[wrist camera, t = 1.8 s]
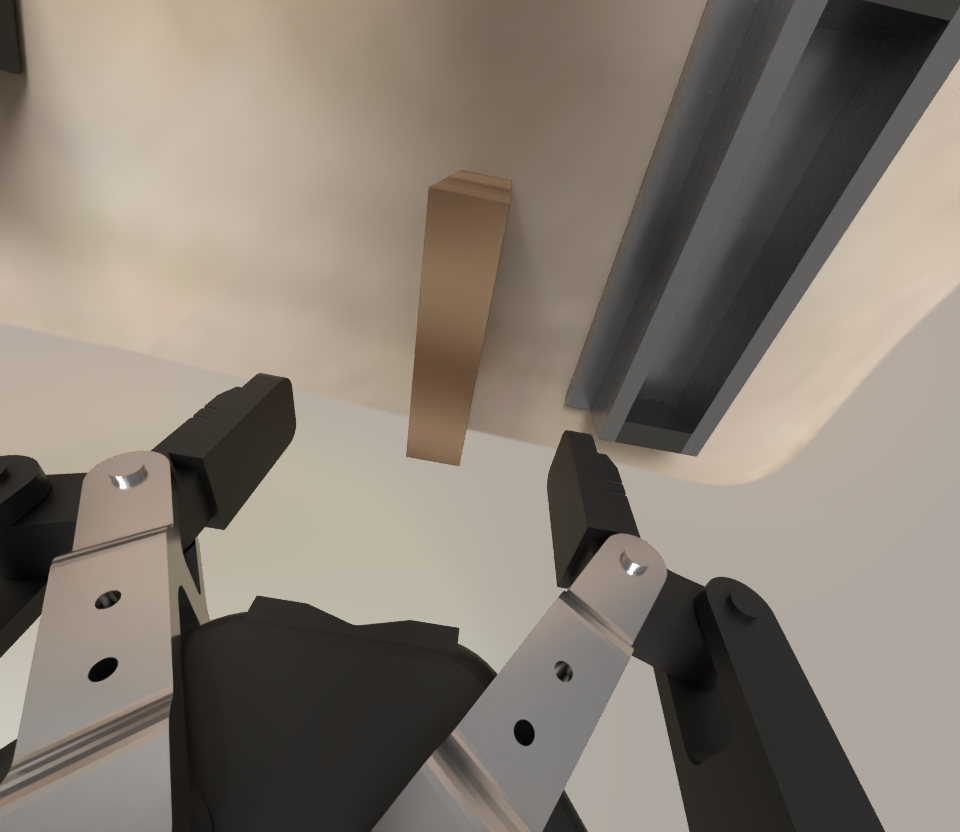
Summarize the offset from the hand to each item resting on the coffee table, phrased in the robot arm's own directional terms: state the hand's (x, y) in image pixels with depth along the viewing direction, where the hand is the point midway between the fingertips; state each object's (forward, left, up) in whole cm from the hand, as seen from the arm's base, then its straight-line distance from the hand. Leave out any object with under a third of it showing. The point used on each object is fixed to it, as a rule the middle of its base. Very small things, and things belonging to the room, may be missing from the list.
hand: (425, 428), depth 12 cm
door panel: (0, 0, -13) cm, 13 cm away
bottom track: (-4, +12, -13) cm, 18 cm away
